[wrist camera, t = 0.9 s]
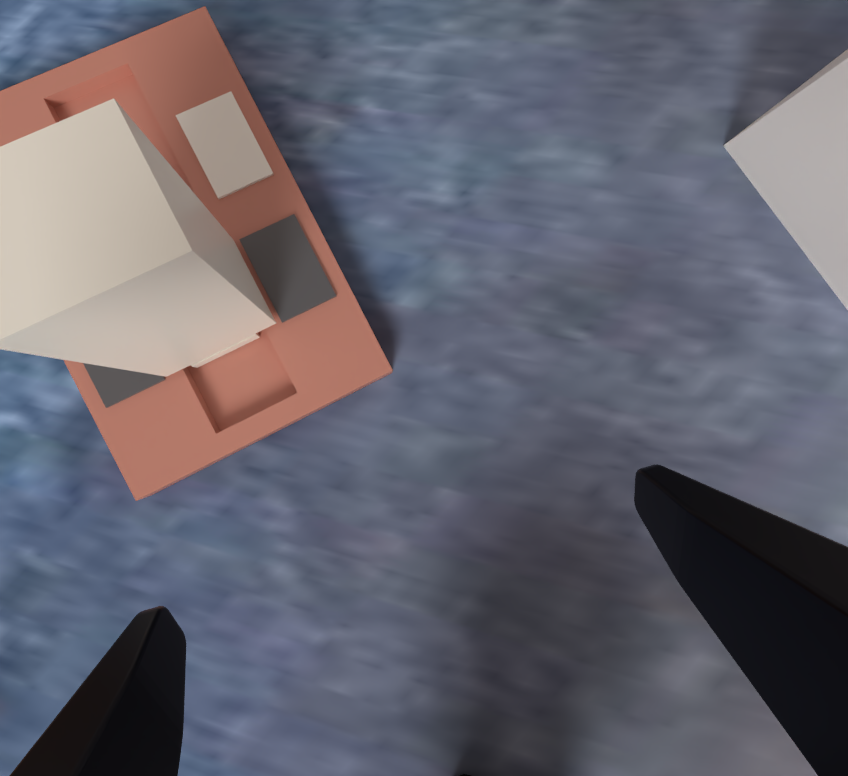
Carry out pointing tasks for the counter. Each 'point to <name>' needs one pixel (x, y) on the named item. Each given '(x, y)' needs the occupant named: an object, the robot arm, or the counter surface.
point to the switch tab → (115, 253)
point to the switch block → (254, 237)
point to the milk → (806, 168)
